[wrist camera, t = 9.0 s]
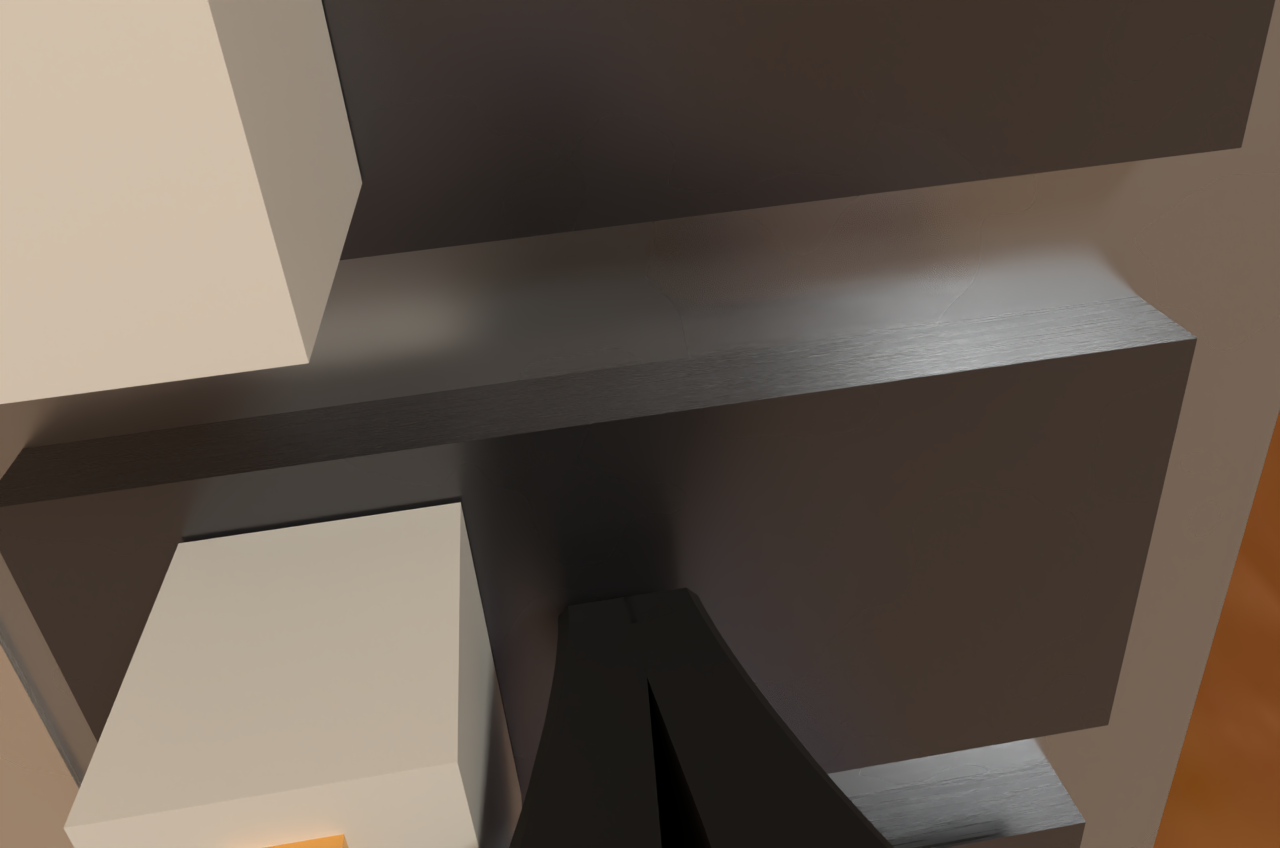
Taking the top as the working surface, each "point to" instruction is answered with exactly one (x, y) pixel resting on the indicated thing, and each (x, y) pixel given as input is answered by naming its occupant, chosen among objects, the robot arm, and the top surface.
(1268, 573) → the top surface
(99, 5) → the block
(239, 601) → the breaker middle
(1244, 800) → the top surface
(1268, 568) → the top surface
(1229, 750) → the top surface
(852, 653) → the breaker panel
